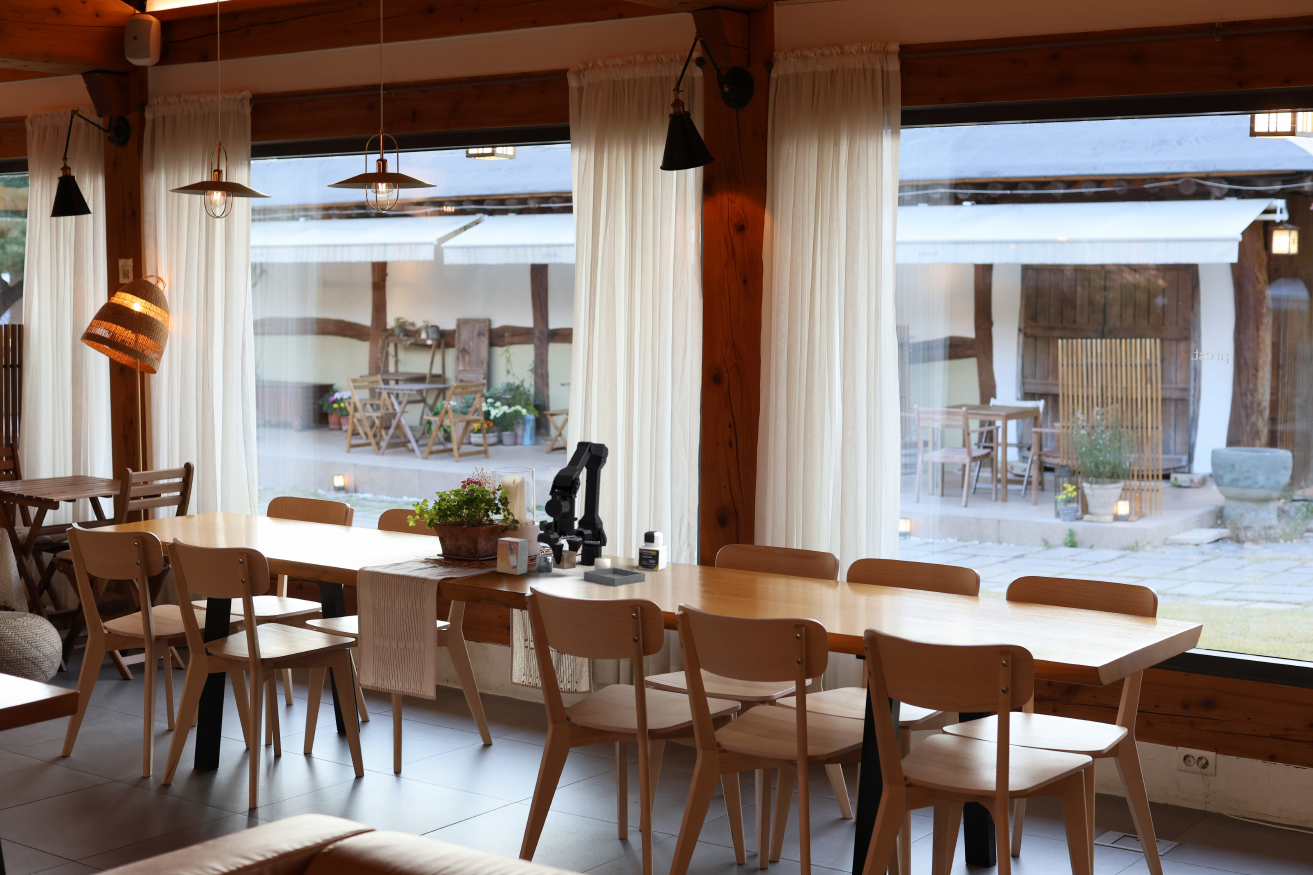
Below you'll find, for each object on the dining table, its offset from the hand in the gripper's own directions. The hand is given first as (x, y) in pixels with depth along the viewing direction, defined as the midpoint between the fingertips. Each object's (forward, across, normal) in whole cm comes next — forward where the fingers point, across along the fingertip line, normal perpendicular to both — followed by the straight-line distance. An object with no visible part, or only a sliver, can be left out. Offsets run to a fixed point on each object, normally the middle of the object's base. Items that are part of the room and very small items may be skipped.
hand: (564, 563), depth 400 cm
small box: (+4, +9, -14) cm, 17 cm away
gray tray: (+4, -7, +15) cm, 17 cm away
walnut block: (+1, 0, 0) cm, 1 cm away
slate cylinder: (+4, 0, -9) cm, 10 cm away
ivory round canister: (+4, -11, +6) cm, 13 cm away
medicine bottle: (+4, -32, +8) cm, 33 cm away
